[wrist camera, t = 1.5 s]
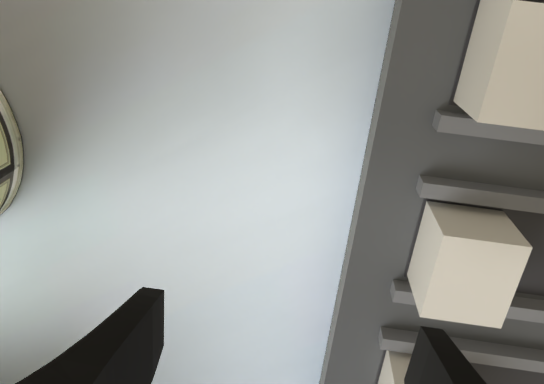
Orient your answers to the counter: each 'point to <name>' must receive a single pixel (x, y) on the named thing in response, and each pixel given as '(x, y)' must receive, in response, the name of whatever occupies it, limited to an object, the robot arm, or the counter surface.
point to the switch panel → (436, 188)
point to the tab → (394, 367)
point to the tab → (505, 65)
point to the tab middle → (466, 264)
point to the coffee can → (9, 155)
